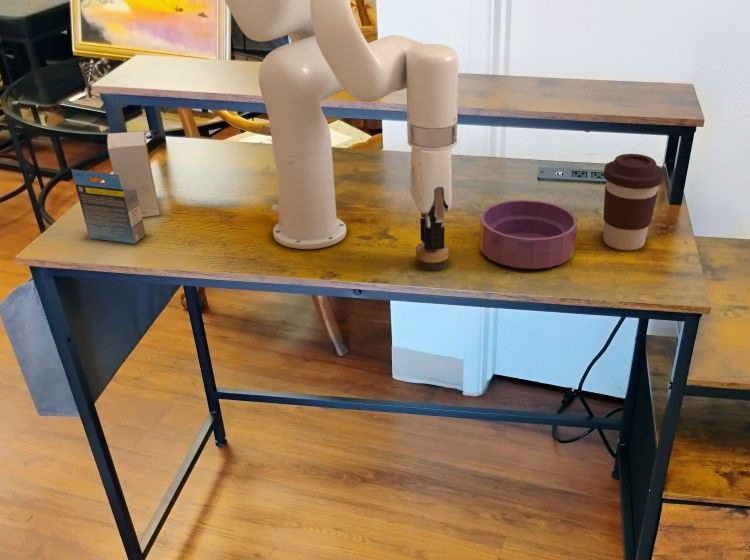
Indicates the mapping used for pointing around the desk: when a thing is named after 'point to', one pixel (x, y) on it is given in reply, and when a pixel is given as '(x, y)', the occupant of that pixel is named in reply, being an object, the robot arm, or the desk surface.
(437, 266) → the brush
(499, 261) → the bowl
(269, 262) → the desk surface
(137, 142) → the small box
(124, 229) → the blue retail box
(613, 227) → the coffee cup
